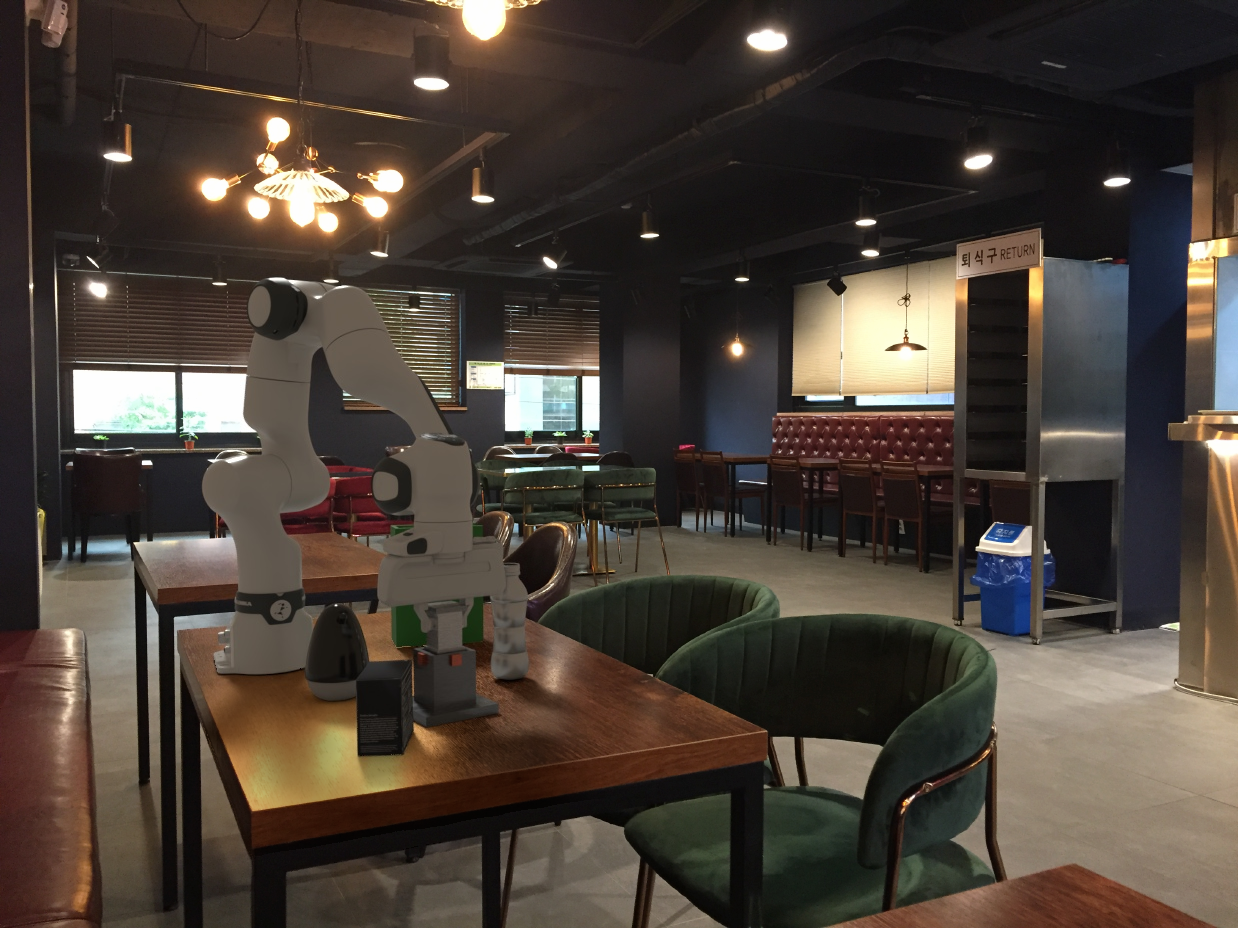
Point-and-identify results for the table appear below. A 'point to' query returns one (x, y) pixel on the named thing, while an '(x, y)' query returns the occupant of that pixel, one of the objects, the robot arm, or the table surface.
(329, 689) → the pump dispenser
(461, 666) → the stand
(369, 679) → the small box
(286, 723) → the table surface
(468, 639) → the hardback book
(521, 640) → the plastic bottle
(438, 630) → the column
